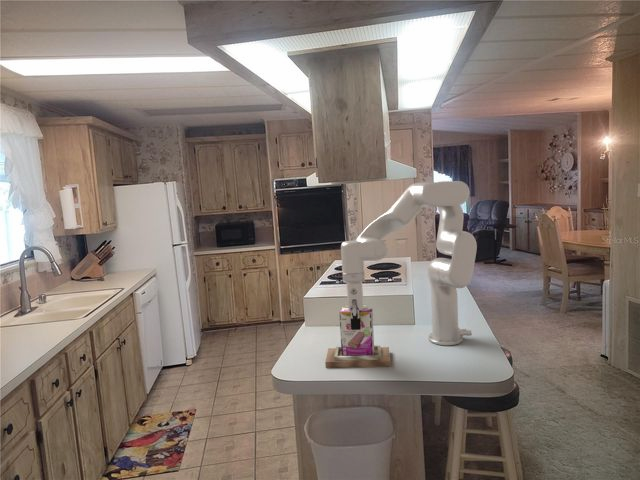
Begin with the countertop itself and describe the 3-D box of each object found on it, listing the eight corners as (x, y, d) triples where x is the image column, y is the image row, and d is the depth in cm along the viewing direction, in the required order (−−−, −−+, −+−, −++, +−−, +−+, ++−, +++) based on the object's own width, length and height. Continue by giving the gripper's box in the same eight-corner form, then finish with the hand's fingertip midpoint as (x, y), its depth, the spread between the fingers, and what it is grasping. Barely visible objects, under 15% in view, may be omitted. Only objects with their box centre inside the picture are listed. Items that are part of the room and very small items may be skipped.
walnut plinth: (388, 352, 157) (388, 343, 156) (390, 366, 145) (390, 357, 145) (328, 353, 159) (328, 345, 159) (325, 367, 147) (325, 358, 147)
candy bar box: (341, 357, 150) (338, 311, 148) (343, 351, 155) (341, 307, 153) (373, 357, 148) (371, 311, 146) (375, 352, 153) (372, 307, 150)
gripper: (364, 282, 139) (367, 333, 141) (364, 271, 156) (367, 316, 158) (341, 283, 140) (344, 333, 142) (343, 271, 157) (346, 317, 159)
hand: (356, 324), depth 150 cm, fingers open, 9 cm apart
